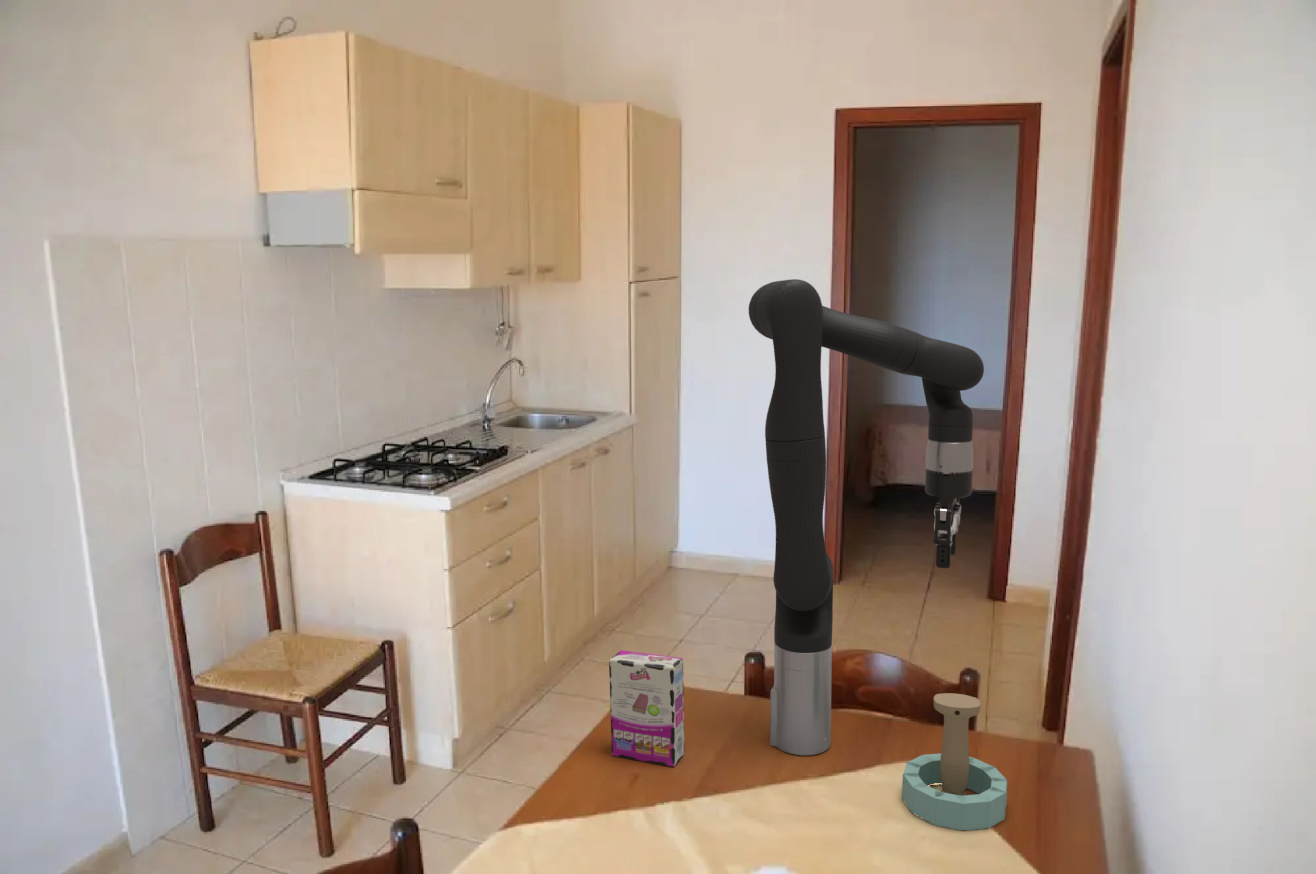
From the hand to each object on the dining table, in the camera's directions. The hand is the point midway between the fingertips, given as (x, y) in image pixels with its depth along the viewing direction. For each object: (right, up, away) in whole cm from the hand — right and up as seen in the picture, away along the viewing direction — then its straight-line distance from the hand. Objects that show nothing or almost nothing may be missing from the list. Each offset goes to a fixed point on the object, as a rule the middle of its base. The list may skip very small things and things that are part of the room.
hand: (946, 560), depth 160 cm
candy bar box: (-50, -31, -8) cm, 59 cm away
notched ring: (-6, -32, -23) cm, 40 cm away
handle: (-6, -32, -22) cm, 39 cm away
